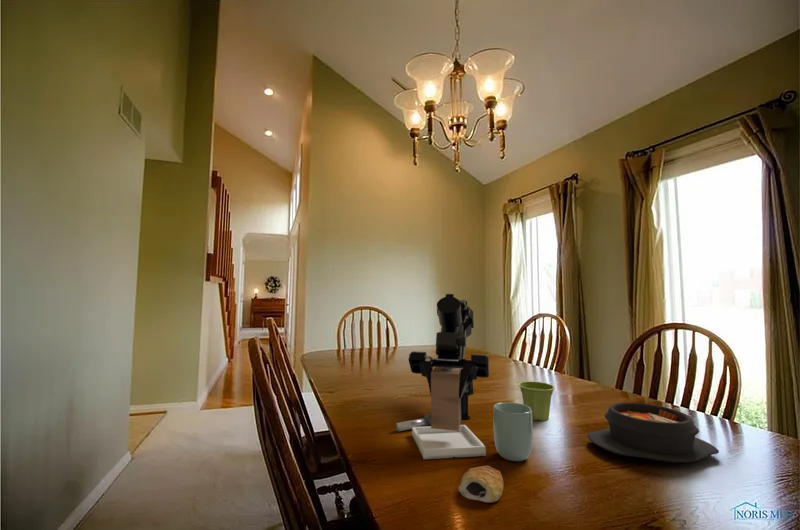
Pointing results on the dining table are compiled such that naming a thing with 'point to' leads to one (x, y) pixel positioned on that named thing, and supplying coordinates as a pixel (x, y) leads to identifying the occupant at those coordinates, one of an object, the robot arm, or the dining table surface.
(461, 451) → the tray
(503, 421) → the cup
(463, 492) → the pastry
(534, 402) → the plant pot
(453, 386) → the block
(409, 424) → the flashlight
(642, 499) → the dining table surface
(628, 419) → the casserole
